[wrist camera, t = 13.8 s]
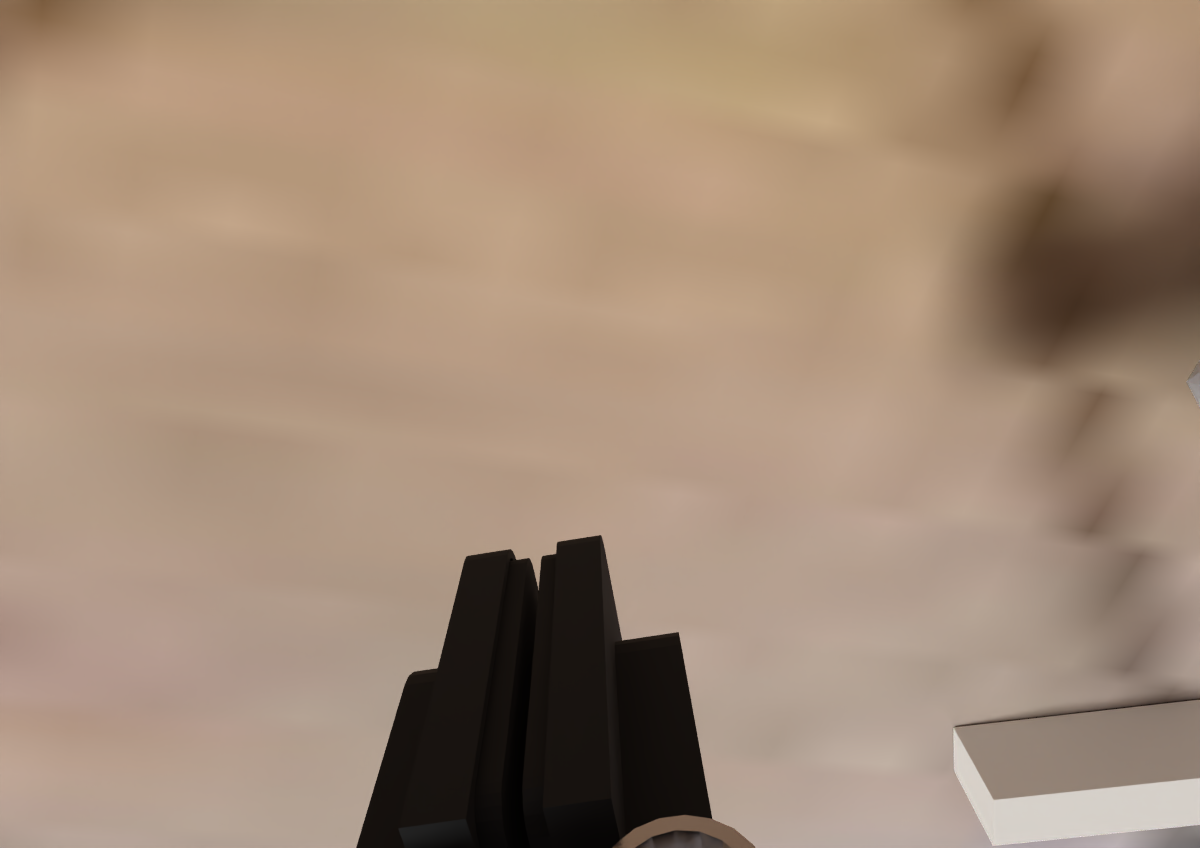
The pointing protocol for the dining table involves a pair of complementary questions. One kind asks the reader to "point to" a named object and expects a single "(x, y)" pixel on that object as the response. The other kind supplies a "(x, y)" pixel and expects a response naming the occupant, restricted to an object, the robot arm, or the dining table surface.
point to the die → (1195, 383)
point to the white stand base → (1083, 772)
